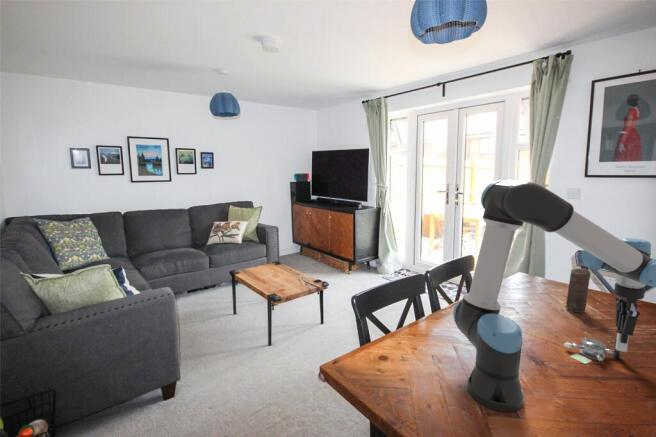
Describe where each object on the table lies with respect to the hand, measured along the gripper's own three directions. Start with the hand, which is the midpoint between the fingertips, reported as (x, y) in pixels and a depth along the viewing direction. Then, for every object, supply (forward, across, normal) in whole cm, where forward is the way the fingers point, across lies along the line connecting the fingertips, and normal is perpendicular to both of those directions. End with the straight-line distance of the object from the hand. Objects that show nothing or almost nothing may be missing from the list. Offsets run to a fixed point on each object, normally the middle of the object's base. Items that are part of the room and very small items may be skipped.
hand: (620, 350), depth 114 cm
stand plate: (+5, +1, +6) cm, 8 cm away
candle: (+4, +43, +4) cm, 44 cm away
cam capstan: (+4, +1, +7) cm, 8 cm away
